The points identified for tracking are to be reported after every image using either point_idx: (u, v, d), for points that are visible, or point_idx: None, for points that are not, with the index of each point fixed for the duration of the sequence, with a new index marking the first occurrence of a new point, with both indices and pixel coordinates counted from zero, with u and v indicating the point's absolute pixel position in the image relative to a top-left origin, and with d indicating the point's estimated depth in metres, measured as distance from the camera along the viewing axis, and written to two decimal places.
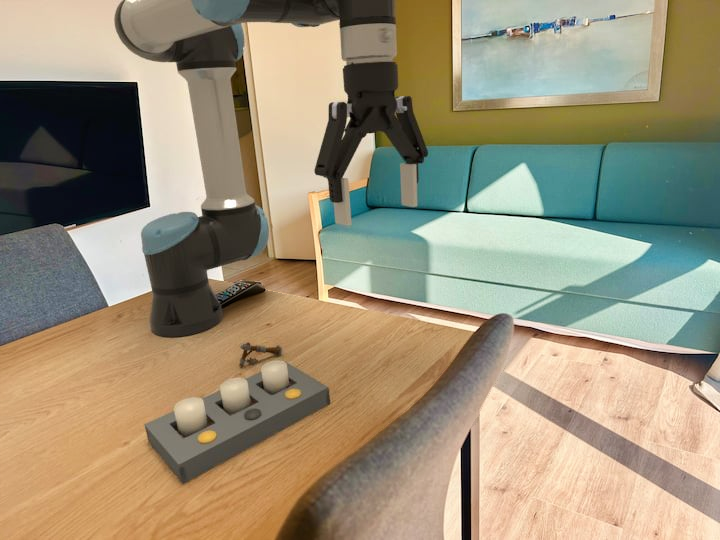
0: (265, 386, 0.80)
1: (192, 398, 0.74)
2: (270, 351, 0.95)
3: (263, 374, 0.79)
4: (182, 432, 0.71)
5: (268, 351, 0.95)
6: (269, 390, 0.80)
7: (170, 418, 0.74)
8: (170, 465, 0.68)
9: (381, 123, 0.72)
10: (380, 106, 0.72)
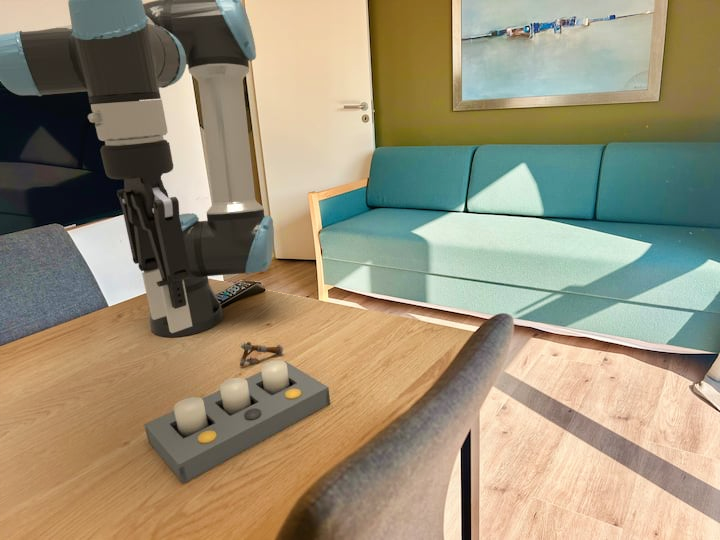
0: (265, 386, 0.80)
1: (192, 398, 0.74)
2: (271, 351, 0.95)
3: (263, 374, 0.79)
4: (182, 432, 0.71)
5: (269, 351, 0.95)
6: (269, 390, 0.80)
7: (170, 418, 0.74)
8: (170, 465, 0.68)
9: None
10: (135, 183, 0.60)
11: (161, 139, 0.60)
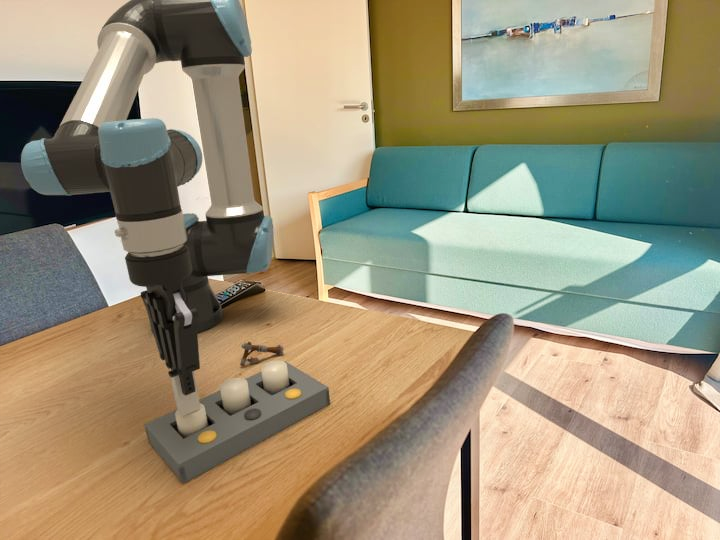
0: (265, 386, 0.80)
1: None
2: (271, 351, 0.95)
3: (263, 374, 0.79)
4: (183, 438, 0.72)
5: (269, 351, 0.95)
6: (269, 390, 0.80)
7: (170, 418, 0.74)
8: (170, 465, 0.68)
9: None
10: None
11: (181, 246, 0.64)
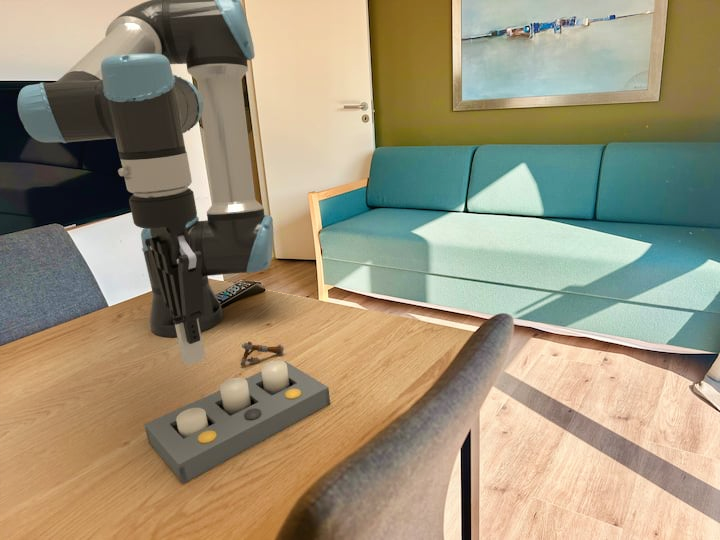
0: (265, 386, 0.80)
1: (194, 408, 0.74)
2: (271, 350, 0.95)
3: (263, 374, 0.79)
4: None
5: (269, 350, 0.95)
6: (269, 390, 0.80)
7: (170, 418, 0.74)
8: (170, 465, 0.68)
9: None
10: (161, 227, 0.63)
11: (186, 189, 0.63)
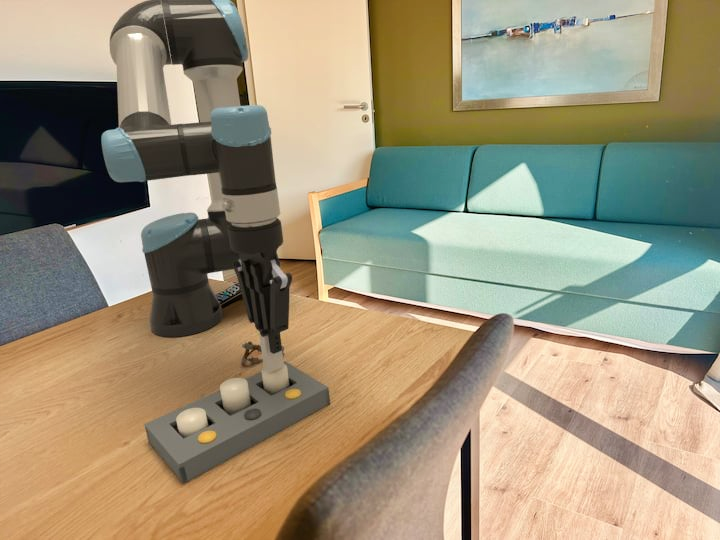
0: (265, 388, 0.80)
1: (194, 408, 0.74)
2: None
3: (263, 376, 0.80)
4: None
5: None
6: (269, 392, 0.80)
7: (170, 418, 0.74)
8: (170, 465, 0.68)
9: None
10: None
11: (276, 219, 0.73)
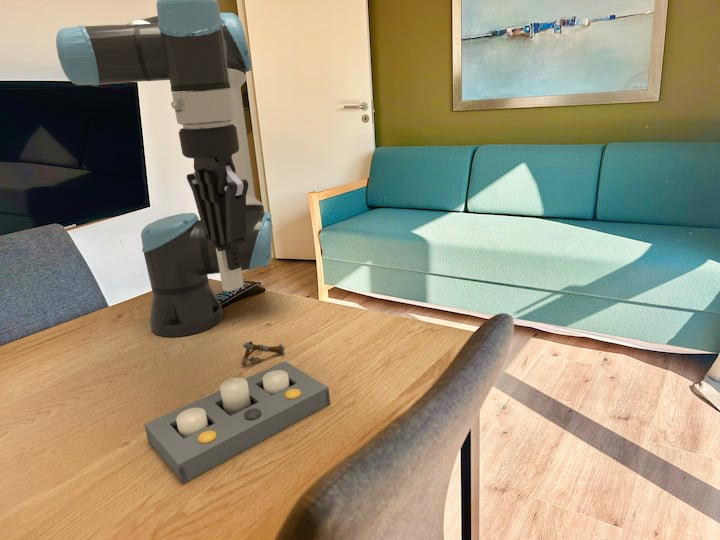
0: None
1: (194, 408, 0.74)
2: (272, 350, 0.95)
3: (264, 384, 0.80)
4: None
5: (270, 350, 0.95)
6: None
7: (170, 418, 0.74)
8: (170, 465, 0.68)
9: None
10: (208, 158, 0.69)
11: (230, 123, 0.69)
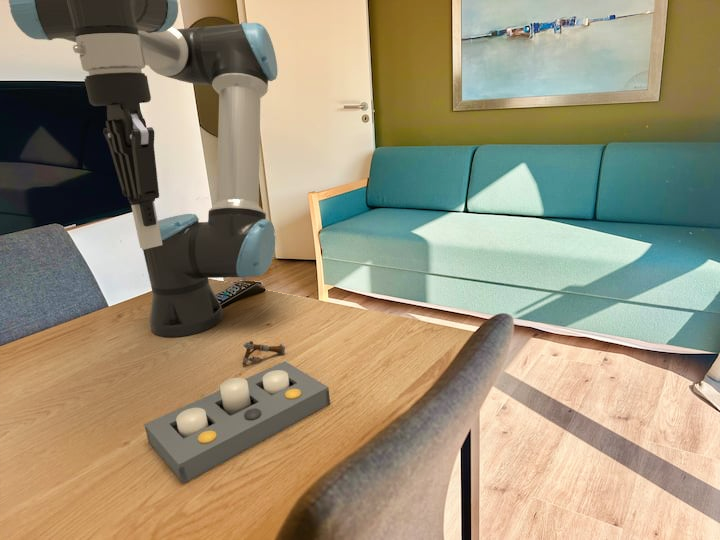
0: None
1: (194, 408, 0.74)
2: (273, 350, 0.95)
3: (264, 384, 0.80)
4: None
5: (271, 350, 0.95)
6: None
7: (170, 418, 0.74)
8: (170, 465, 0.68)
9: None
10: (116, 106, 0.67)
11: (139, 71, 0.67)
